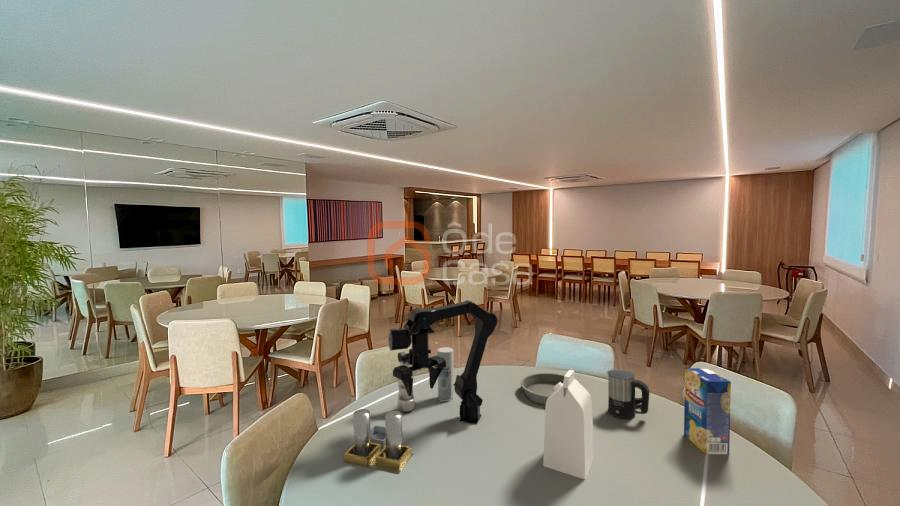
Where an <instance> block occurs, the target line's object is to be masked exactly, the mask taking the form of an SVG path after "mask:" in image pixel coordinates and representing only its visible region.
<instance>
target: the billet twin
mask: <svg viewBox="0 0 900 506" xmlns="http://www.w3.org/2000/svg"><path fill="white" fill-rule="evenodd" d="M352 417H353V418H352V419H353V445H354V455H358V456H363V457H367V456H368V455H369V454H370V453H371V438H372V435H371V430H370V429H371V411H370V410H369V409H368V408H367V409H366V408H361V409H356V410H355V411H354V412H353V415H352Z"/></svg>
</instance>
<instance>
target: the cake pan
mask: <svg viewBox="0 0 900 506" xmlns="http://www.w3.org/2000/svg"><path fill="white" fill-rule="evenodd" d="M564 376H565V375H564V374H560V373H559V374H558V373H553V372H552V373H550V372H540V373H539V372H538V373H532V374H528V375H526V376H524V377H523V378H522V379H521V380H520V385H521V387H522V388H523V390H524V394H525V396H526V397H527V398H528V399H530V400H531V401H533V402H535V403H539V404H542V405H545V406H546V401H547V399H548V398H549V396H550V395H551V394H552V393H553V391H554V390H555V389H554V387H555V386H556V385H557V384H558V383H559V382H561V383H563V382H564Z"/></svg>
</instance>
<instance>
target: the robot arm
mask: <svg viewBox="0 0 900 506" xmlns="http://www.w3.org/2000/svg"><path fill="white" fill-rule="evenodd" d="M468 314H469V315H470V316H471V317H472V318H474V325H473V327H474V337H473V340H472V343H471V345H470V350H469V352H468V353H469V354H468V356H467V360H466V363H465V367H464V370H463V372H462V373H461V374H460V375H459V374H457V375H456V377H455V382H454V393H455V394H456V395H457V396H458V398H459V399H460V400H461V401H460V405H459V422H462V423H467V424H468V423H469V424H473V425H477V424H478V423H479V421H480V419H482V418H481V417H482V414H481V406H482V405H483V399H482V398H481V396H479V395H478V394H477V392H478V379H477V377H478V373H479V369H480V366H481V362H482V359H483V356H484V352H485V350H486V349H485V348H486V345H487V342H488V340H489V338H490V336H491V335H492V334H493V333H494V331H495V329H496V328H497V325H498V322H499V321H498V320H499V319H498V317H497V315H496V314H495V313H493V312H491V311H488V310H485V309H483V308H481V307H480V306H478V305H477V304H476V303H475V302H474V301H470V300H464V301H461V302H457V303H453V304H447V305H445V306H439V307H434V308H433V307H432V308H431V307H428V308H427V307H420V308H419V307H416V308H414V309H412V310H411V312H410V313H409V317H408V319H407V321H406V322H405V323H404V326H403V328H390V329H389V334H388V341H387V342H388V347H389V348H388V349H389V351H391V352H393V351H398V350H407V349H408V348H409V349H408V352H405V351H401V352H398V353H397V361H398V362H399V363H400V362H403V364H405V363H408V364H409V365H411V367H406V366H404V365H402V366H400V365H399V366H395V367H394V368H393V369H392V376H393V377H394V378H398V379H400V380H402V382H403V384H404V386H405V388H406V391H407V394H408V396H411V394H412V385H413V386H414V378H411V377H412V375H413V374H412V373H413V372H414V373H415V372H418V371H421V370H426V369H428V372H429V374H428V375H429V378H428V379H429V388H430V389H433V388H434V387H435V385H436V383H437V381H438V376H439V375H440V373H441V371H442V370H443V369H444V367H446V360H445V359H444V358H442V357H439V356H437V355H434V356H431V357H430V355H429V354H431V353H432V349H430V348H429V343H430V342H429V334H434V333H435V330H433V329H432V327H431V326H433V325H434V324H436V323H437V322H439V321H442V320H446V319H451V318H454V317H459V316H464V315H468ZM410 347H411V348H410ZM398 379H397V380H398Z"/></svg>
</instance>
